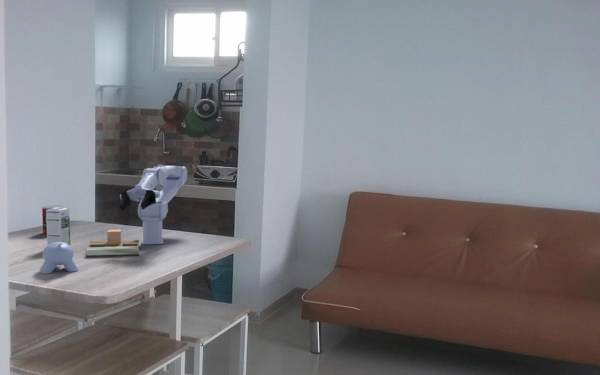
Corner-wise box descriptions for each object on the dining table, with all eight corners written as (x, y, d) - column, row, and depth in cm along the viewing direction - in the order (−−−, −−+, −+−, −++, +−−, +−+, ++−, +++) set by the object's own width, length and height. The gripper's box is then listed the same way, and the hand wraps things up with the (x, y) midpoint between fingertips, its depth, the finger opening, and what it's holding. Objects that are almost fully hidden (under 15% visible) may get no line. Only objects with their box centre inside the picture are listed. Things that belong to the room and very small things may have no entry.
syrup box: (61, 250, 215) (60, 209, 213) (46, 249, 216) (45, 208, 214) (70, 247, 220) (70, 207, 219) (56, 246, 221) (55, 206, 220)
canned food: (38, 233, 244) (38, 206, 242) (52, 230, 251) (51, 204, 250) (54, 235, 241) (54, 208, 240) (67, 232, 249) (67, 205, 248)
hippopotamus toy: (75, 262, 197) (75, 233, 196) (79, 273, 184) (79, 242, 183) (39, 265, 193) (39, 235, 192) (41, 276, 179) (40, 244, 178)
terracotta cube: (108, 241, 219) (108, 229, 218) (121, 241, 220) (121, 229, 220) (107, 244, 215) (107, 231, 214) (120, 244, 216) (120, 231, 215)
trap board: (90, 247, 220) (90, 240, 220) (138, 246, 225) (138, 239, 224) (86, 257, 205) (86, 249, 205) (138, 255, 209) (138, 248, 209)
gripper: (123, 179, 221) (109, 198, 210) (160, 177, 219) (148, 196, 207) (128, 196, 225) (115, 216, 213) (165, 194, 222) (153, 213, 211)
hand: (131, 207), depth 211 cm, fingers open, 7 cm apart
